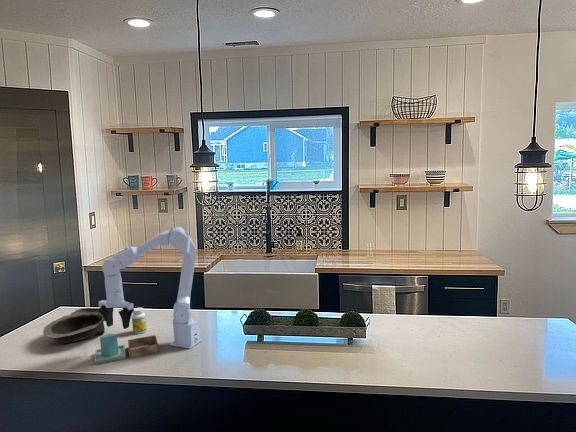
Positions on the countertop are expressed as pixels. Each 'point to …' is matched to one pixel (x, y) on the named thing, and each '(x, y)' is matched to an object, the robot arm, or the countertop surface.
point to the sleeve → (143, 350)
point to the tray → (120, 356)
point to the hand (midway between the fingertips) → (118, 326)
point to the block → (109, 345)
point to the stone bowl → (76, 326)
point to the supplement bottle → (139, 321)
